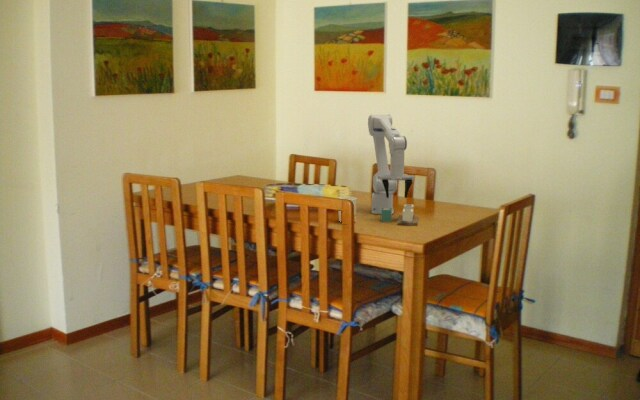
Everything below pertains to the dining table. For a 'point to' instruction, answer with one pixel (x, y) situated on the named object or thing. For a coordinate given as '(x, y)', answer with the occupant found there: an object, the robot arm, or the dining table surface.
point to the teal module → (386, 214)
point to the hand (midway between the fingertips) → (396, 197)
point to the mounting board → (412, 223)
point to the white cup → (353, 203)
